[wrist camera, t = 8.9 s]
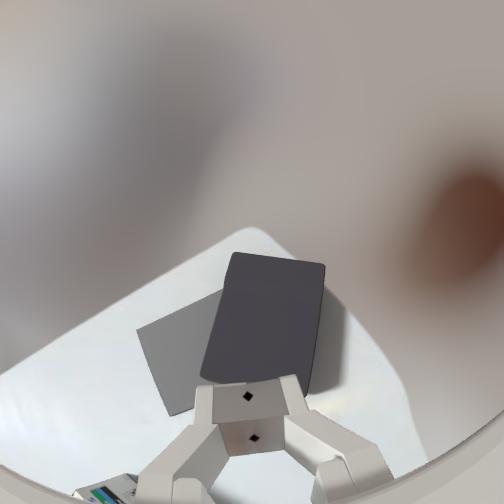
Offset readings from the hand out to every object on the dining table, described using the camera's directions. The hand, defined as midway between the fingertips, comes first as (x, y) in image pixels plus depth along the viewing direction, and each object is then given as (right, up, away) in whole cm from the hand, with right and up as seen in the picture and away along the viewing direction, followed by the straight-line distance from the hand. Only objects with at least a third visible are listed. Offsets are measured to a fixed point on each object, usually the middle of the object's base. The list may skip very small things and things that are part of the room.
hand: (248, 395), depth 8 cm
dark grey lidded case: (0, -10, +18) cm, 20 cm away
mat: (-4, -6, +23) cm, 25 cm away
